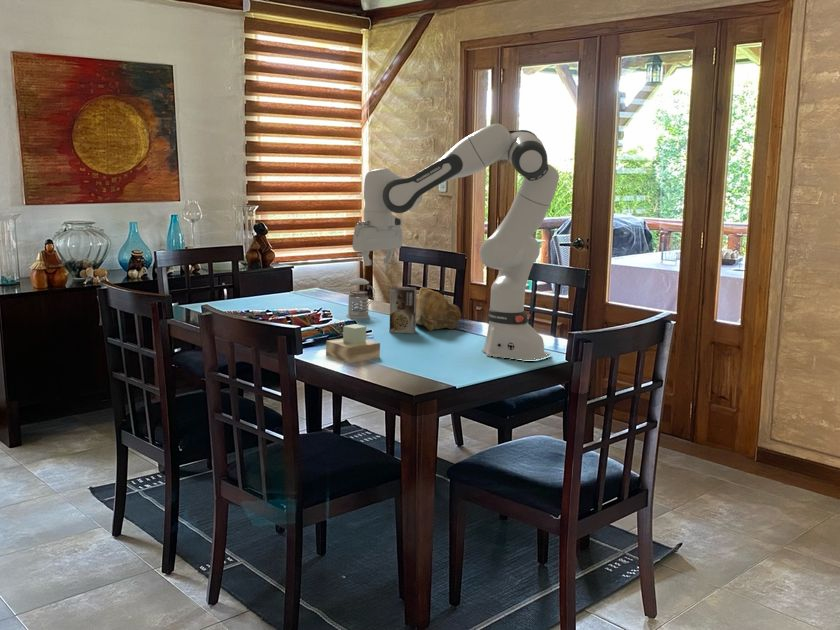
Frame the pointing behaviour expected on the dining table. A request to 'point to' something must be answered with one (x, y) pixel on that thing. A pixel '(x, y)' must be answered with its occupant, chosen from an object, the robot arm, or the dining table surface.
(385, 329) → the dining table surface
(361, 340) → the sage cube
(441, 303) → the rough brown rock
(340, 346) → the maple block
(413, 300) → the coffee box
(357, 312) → the french press
